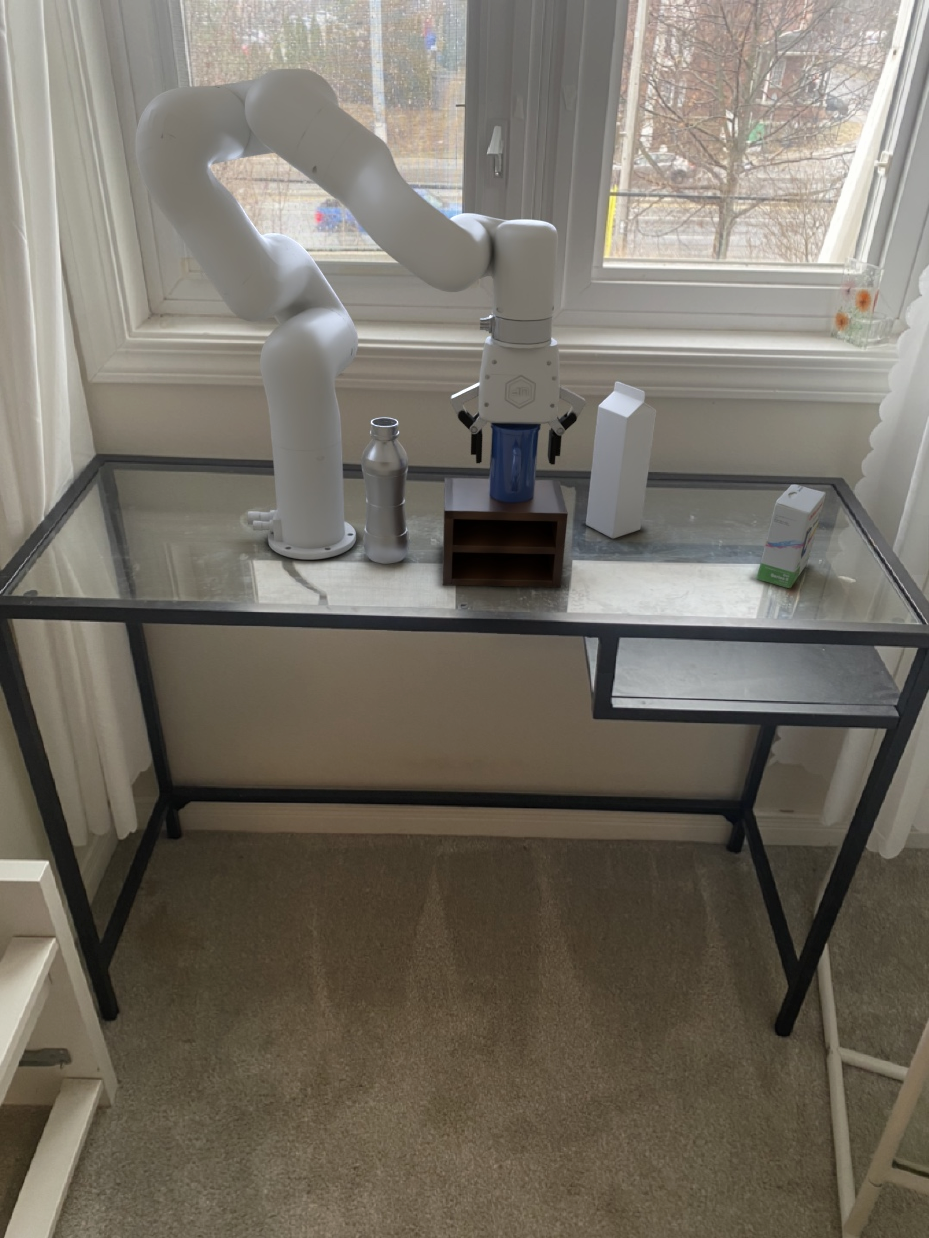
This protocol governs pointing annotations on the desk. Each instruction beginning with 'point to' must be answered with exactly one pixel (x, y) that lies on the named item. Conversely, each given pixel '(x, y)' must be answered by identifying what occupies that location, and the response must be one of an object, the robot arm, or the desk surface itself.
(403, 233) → the robot arm
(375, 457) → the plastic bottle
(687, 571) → the desk surface
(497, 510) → the shelf
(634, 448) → the milk
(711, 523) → the desk surface
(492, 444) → the jug
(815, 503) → the ink box
